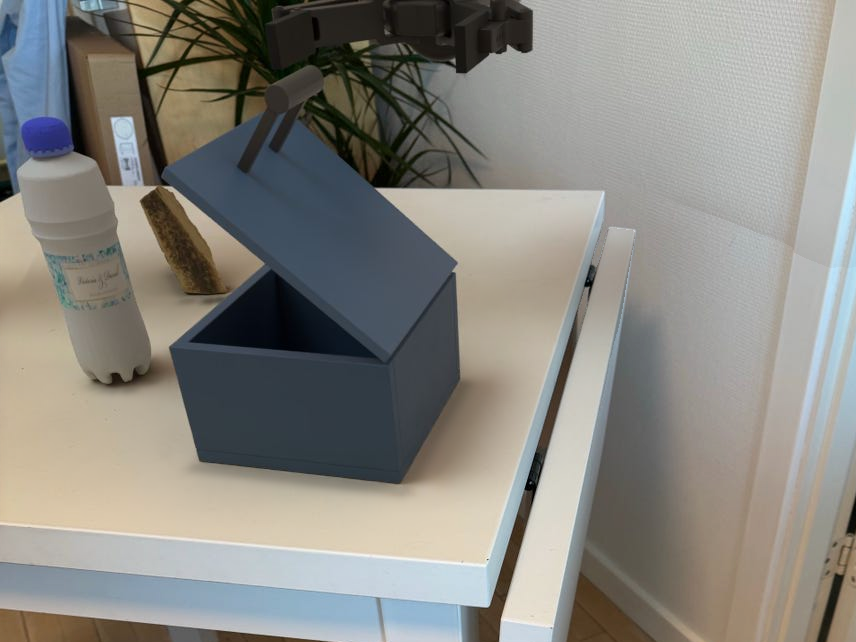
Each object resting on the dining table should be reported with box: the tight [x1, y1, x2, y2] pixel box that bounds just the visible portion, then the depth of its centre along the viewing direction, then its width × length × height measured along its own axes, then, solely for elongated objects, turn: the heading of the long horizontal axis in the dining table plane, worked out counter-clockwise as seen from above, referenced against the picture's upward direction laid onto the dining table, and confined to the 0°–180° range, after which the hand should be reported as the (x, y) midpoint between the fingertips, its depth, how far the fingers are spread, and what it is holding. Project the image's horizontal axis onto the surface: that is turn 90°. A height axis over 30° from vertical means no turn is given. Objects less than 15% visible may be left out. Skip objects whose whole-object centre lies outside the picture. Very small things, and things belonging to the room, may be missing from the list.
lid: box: [161, 64, 459, 363], centre depth 61 cm, size 17×17×7 cm
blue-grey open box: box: [168, 263, 461, 485], centre depth 70 cm, size 16×17×9 cm
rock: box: [139, 185, 229, 295], centre depth 95 cm, size 11×9×10 cm
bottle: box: [16, 116, 152, 385], centre depth 73 cm, size 7×7×20 cm
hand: (364, 48), depth 62 cm, fingers open, 13 cm apart
